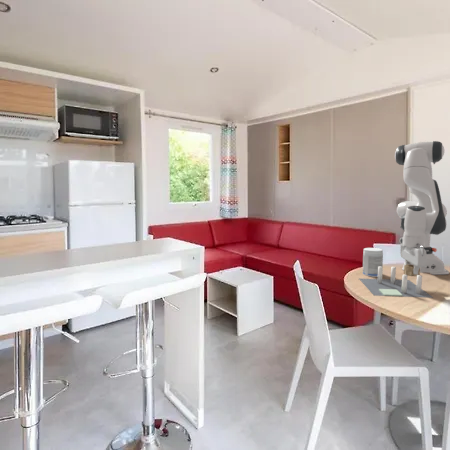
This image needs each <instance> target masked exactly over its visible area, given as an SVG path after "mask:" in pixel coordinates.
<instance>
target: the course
mask: <svg viewBox="0 0 450 450" xmlns="http://www.w3.org/2000/svg"><path fill="white" fill-rule="evenodd" d="M383 268H384V267H381V266H379V267H378V277H377V278H359V277H358V281H359V280H360V282H361V283H362V285H363V286H364V287H365V288H367V290H368V291H369V293H371V294H372V295H373V296H374V297H375V296H376V297H385V296H384V295H383V294H382V293H381V292H380V291H379V289H396V290H398V291H399V292H400V293H401V294H402V295H403V296H398V297H399V298H400V297H405V298H427V299H428V298H429V299H431V298H432V299H433V298H434V296H432V295H431V294H429V293H427V292H426V291H425V290H423V288H422V287H423V286H422V285H423V275H421V274H420V275H417V277H416V284H415V283H414V282H412V281H411V280H410V279H408V277H409V276H408V275H405V274H402V277H401V279H396V275H397V274H396V273H397V266H391V268H390V279H387V278H385V279H384V278H383V272H384V271H383V270H384V269H383Z"/></svg>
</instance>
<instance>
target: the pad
mask: <svg viewBox="0 0 450 450" xmlns="http://www.w3.org/2000/svg"><path fill="white" fill-rule="evenodd" d="M379 291H380V292H381V293H382V294H383V295H384V296H383V297H399V296H403V295H402V294H401V293H400V292H399V291H398V290H396V289H379Z"/></svg>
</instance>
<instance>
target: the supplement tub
mask: <svg viewBox="0 0 450 450" xmlns="http://www.w3.org/2000/svg"><path fill="white" fill-rule="evenodd" d="M383 251H384V250H383V249H382V248H379V247H377V248H376V247H365V248H363V254H362V275H364V276H366V277H367V276H368V277H373V278H378V267H379V266H381V267H383V264H384V263H383V262H384V252H383ZM383 268H384V267H383Z"/></svg>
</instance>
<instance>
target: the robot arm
mask: <svg viewBox="0 0 450 450" xmlns="http://www.w3.org/2000/svg"><path fill="white" fill-rule="evenodd" d="M444 155H445V147H444V145H443V143H442V142H441V141H438V140H435V141H434V140H433V141H420V142H414V143H409V144H402V145H399V146H398V147H396V149H395V152H394V160H395V162H396V164H398V165H399V166H403V172H402V173H403V175H402V176H403V182H404V183H405V185H406V186H407V187H408V190H409V192H410V194H412V195H414V196H415V197H416V198H417V200H406V201H401V202H400V203H399V204H398V205H397V207H396V215H397V217H399V218H400V229H401V230H402V231H404V232H403V235H402V237H400V238H399V243H400V248H399V251H400V252H399V253H400V257H401V258H402V259H403V260H404V263H403V266H402V268H401V269H402V270H403V271H404V265H407V264H408V265H414V270H413V274H418V270H419V268H420V274H425V273H427V274H430V275H432V276H433V275H435V276H436V275H449V274H450V271H449V270H448V269H446V268H445V262H444V261H443V260H442V259H441V258H440V257H438V256H437V255H435V254H434V253H436V252H437V251H438V249H437V248H435V247H432V246H431V235H434V236H435V235H436V236H438V235H441V234H442V233H443V232H445V231H446V229H447V219H446V216H447V212H448V210H447V207H446V206H445V205H444V203H443V202H442V197H441V193H440V189H439V184H438V182H437V180H435V179H433V168H432V167H433V166H432V163H433V165H435V164H436V163H438V162H440V161H442V159H443V157H444Z"/></svg>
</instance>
